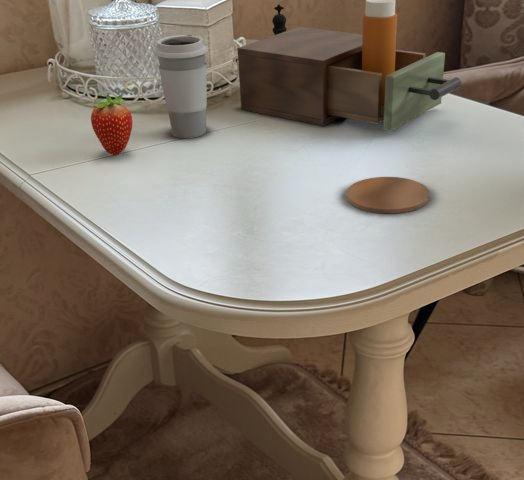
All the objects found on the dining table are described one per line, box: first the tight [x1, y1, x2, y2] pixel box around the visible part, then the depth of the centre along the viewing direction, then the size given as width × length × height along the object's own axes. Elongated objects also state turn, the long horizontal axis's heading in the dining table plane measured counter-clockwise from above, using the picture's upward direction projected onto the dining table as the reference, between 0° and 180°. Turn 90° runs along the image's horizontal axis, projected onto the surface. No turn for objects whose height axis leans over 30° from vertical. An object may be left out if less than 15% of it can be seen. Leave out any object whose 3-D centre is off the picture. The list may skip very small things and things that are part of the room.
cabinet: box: [236, 26, 363, 127], centre depth 113 cm, size 15×15×9 cm
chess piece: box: [271, 4, 288, 36], centre depth 130 cm, size 4×4×10 cm
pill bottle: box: [362, 0, 398, 106], centre depth 105 cm, size 4×4×13 cm
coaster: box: [345, 176, 431, 214], centre depth 87 cm, size 9×9×1 cm
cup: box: [153, 34, 209, 139], centre depth 104 cm, size 7×7×12 cm
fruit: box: [90, 91, 133, 157], centre depth 100 cm, size 5×5×8 cm
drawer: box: [326, 49, 462, 131], centre depth 106 cm, size 18×13×7 cm
